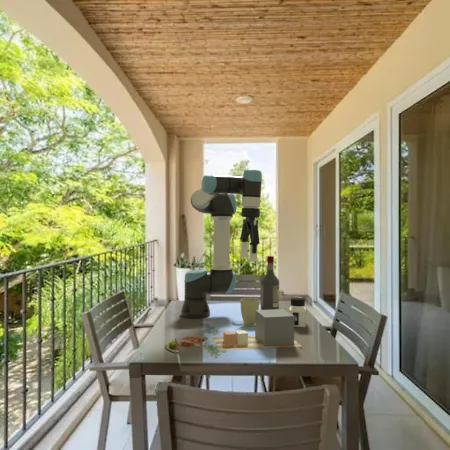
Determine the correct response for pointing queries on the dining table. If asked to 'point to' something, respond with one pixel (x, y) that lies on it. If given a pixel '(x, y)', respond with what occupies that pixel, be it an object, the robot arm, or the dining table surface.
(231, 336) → the terracotta block
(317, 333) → the dining table surface
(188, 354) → the dining table surface
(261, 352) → the dining table surface
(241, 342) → the white block
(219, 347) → the board
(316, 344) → the dining table surface
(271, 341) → the grey matte cube
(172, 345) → the food
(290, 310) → the container
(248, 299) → the mug
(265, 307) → the liquor
